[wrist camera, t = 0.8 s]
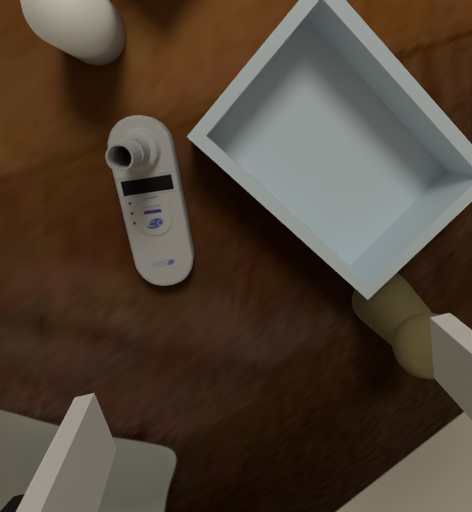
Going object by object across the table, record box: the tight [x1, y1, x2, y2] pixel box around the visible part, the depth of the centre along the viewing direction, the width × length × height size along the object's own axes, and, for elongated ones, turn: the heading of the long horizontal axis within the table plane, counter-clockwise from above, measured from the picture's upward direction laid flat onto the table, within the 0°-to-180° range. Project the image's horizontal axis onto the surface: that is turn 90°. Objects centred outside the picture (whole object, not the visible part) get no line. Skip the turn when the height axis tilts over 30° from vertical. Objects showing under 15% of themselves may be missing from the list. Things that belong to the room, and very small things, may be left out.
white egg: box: [21, 0, 126, 66], centre depth 28 cm, size 5×5×7 cm
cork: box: [352, 273, 439, 379], centre depth 34 cm, size 6×6×11 cm
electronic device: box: [105, 115, 194, 286], centre depth 31 cm, size 5×10×15 cm
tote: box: [187, 0, 472, 300], centre depth 32 cm, size 20×14×6 cm
